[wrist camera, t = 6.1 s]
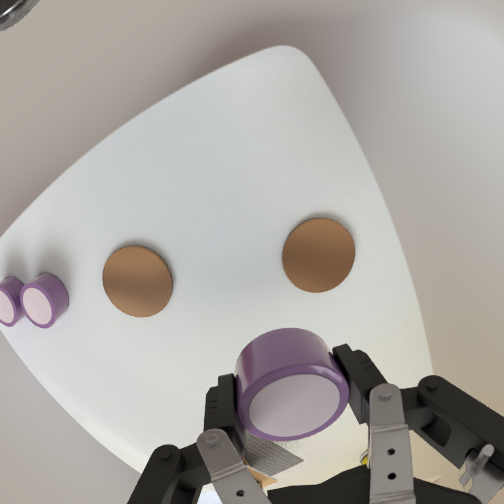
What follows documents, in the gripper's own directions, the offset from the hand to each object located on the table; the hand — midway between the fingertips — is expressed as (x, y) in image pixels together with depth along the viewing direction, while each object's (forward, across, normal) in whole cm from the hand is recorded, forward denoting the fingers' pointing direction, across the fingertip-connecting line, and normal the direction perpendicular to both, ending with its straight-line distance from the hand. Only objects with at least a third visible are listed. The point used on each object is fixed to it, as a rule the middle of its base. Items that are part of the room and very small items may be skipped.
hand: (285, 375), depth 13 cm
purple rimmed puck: (+14, +28, -4) cm, 32 cm away
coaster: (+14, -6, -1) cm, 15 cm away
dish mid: (+14, +22, -4) cm, 26 cm away
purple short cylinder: (+1, 0, 0) cm, 1 cm away
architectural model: (+14, +8, +27) cm, 31 cm away
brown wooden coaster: (+14, +11, -3) cm, 18 cm away
